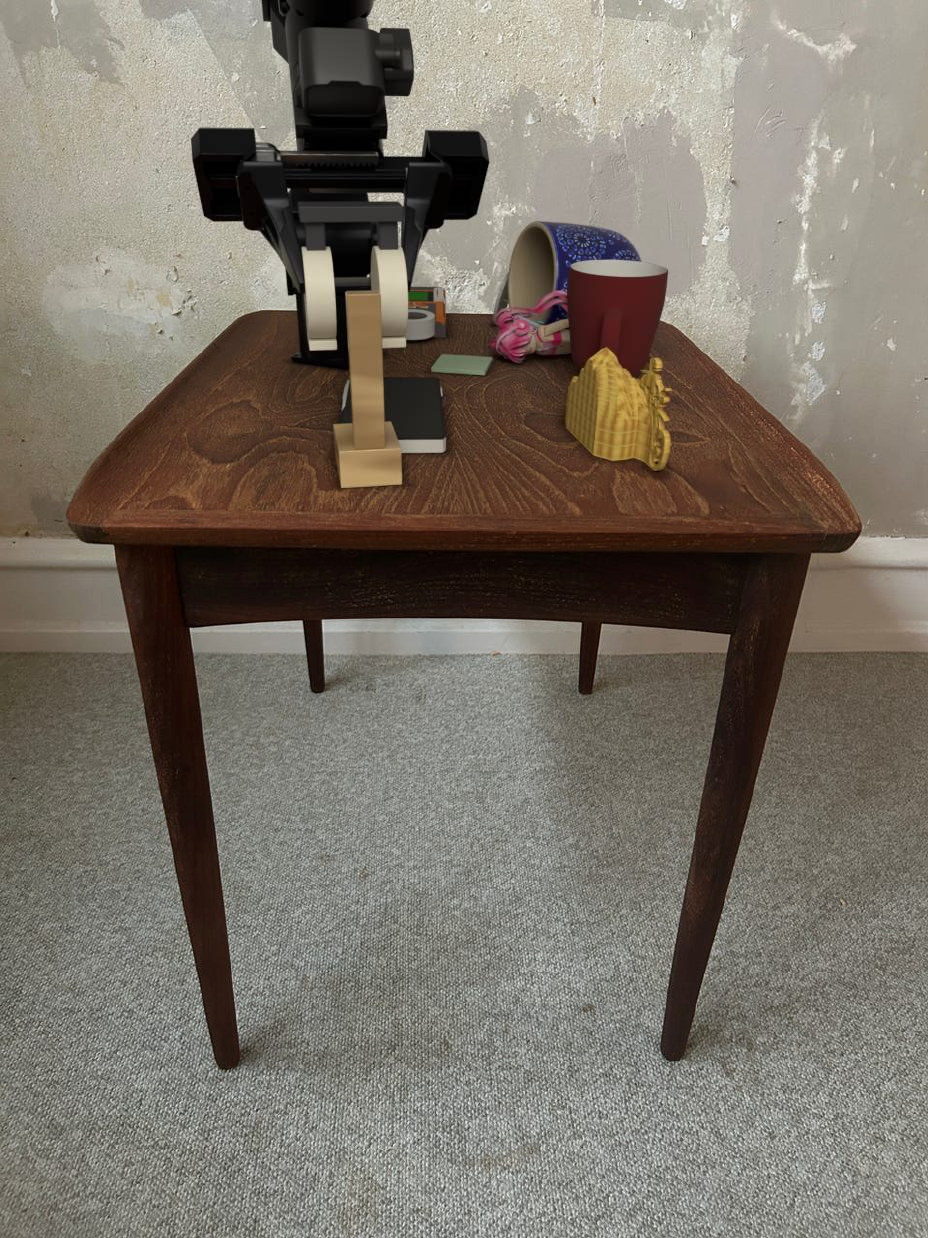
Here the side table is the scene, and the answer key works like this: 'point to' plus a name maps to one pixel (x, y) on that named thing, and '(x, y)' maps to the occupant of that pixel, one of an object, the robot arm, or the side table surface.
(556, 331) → the toy
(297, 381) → the side table surface
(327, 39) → the robot arm
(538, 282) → the planter
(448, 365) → the felt mat
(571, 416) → the figurine
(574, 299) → the mug
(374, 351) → the hook stand
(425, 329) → the electronic device
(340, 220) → the headphones
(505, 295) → the figurine
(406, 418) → the smartphone
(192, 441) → the side table surface
